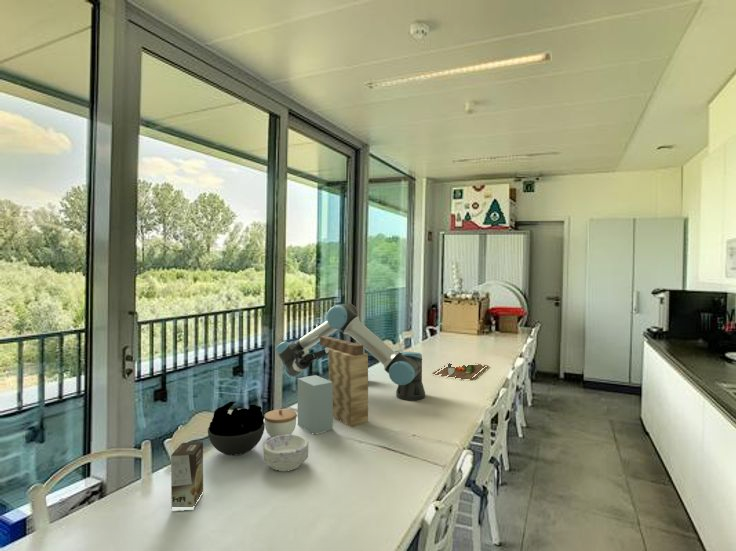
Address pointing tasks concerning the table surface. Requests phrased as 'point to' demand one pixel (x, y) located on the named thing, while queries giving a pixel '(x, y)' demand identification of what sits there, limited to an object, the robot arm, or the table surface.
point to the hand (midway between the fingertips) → (320, 347)
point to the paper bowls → (285, 452)
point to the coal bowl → (236, 429)
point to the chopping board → (462, 371)
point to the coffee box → (187, 474)
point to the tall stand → (349, 386)
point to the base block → (315, 404)
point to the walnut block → (341, 345)
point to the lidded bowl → (280, 422)
